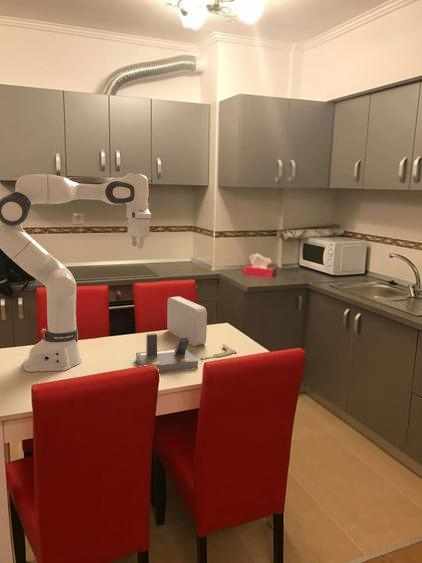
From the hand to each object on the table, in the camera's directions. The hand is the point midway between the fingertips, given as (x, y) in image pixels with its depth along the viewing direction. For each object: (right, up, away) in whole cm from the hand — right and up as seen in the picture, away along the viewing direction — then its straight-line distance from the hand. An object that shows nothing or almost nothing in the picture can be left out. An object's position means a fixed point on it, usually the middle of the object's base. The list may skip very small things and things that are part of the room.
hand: (137, 247), depth 192 cm
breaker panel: (+12, -49, 0) cm, 50 cm away
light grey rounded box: (+18, -42, +34) cm, 57 cm away
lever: (+17, -44, +2) cm, 47 cm away
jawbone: (+32, -47, +14) cm, 59 cm away
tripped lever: (+6, -45, -2) cm, 45 cm away
